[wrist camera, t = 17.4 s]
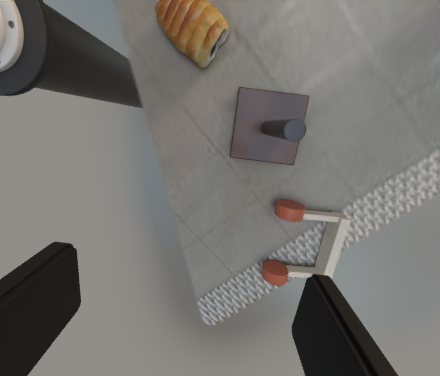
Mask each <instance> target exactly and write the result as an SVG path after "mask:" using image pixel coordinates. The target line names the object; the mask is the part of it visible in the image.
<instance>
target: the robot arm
mask: <svg viewBox="0 0 440 376" xmlns="http://www.w3.org/2000/svg"><path fill="white" fill-rule="evenodd" d="M23 41H24V31H23V24H22V20H21V16H20V13H19V11H18V8H17V6H16V4H15V2H14V0H0V72H2V71H5V70H7V69H9V68H10V67H12V66H13V65H14V63H15V62H16V61H17V60H18V58H19V56H20V54H21V51H22V48H23ZM80 303H81V296H80V284H79V272H78V260H77V251H76V249H75V248H73V245H72V244H69V243H62V242H53V243H51V244H50V245H48V246H47V247H46V248H44V249H43V250H41V251H40V252H38V253H37V254H36V255H34V256H33V257H31V258H30V259H29V260H27V261H26V262H24V263H23V264H21V266H19V267H17V268H16V269H14V270H13V271H12V272H10V273H9V274H7V275H6V276H4V277H3V278H2V279H1V280H0V376H27V375H28V374H29V373H30V371H31V370H32V369H33V367H34V366H35V365H36V364H37V362H38V361H39V360H40V359H41V357H42V356H43V354H44V353H45V352H46V351H47V349H48V348H49V347H50V346H51V344H52V343H53V342H54V340H55V339H56V338H57V337H58V335H59V334H60V333H61V331H62V330H63V329H64V327H65V326H66V325H67V323H68V322H69V321H70V320H71V318H72V317H73V316H74V315H75V313H76V312H77V310H78V308H79V306H80ZM292 335H293V339H294V342H295V345H296V348H297V351H298V354H299V357H300V360H301V363H302V367H303V370H304V373H305V376H398V375H397V373H396V372H395V371H394V369H393V368H392V366H391V365H390V363H389V362H388V360H387V359H386V358H385V356H384V354H383V353H382V352H381V350H380V349H379V347H378V346H377V344H376V343H375V341H374V340H373V339H372V337H371V336H370V334H369V333H368V331H367V330H366V329H365V327H364V326H363V324H362V323H361V321H360V320H359V318H358V317H357V315H356V314H355V312H354V311H353V310H352V308H351V307H350V305H349V304H348V302H347V301H346V299H345V298H344V297H343V295H342V294H341V292H340V291H339V289H338V288H337V286H336V285H335V284H334V282H333V281H332V279H331V278H330V277H329V276H328V275H320V274H313V275H312V276H311V277H308V278H307V280H306V283H305V287H304V290H303V293H302V296H301V299H300V302H299V306H298V309H297V312H296V315H295V318H294V321H293V324H292Z"/></svg>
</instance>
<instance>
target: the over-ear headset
mask: <svg viewBox="0 0 440 376" xmlns="http://www.w3.org/2000/svg"><path fill="white" fill-rule="evenodd" d="M275 215H276V216H278V217H279V218H281V219H284V220H287V221H293V222H299V221H302V219H307V220H317V221H328V222H327V226H326V229H325V232H324V236H323V239H322V242H321V246H320V249H319V252H318V256H317V259H316V262H315V266H314V267H303V266H290V265H285V264H283V263H282V262H279V261H277V260H267V261H265V262H264V264H263V269H262V277H263V278H264V280H265V281H267V282H268V283H270V284H272V285H276V286H281V285H284V284H285V283H286V281H287V277H288V276H289V277H302V278H308V277H311V276H312V275H313V274H320V275H328V276H329V277H330V278H331V279H332V276H333V273H334V270H335V267H336V264H337V261H338V258H339V255H340V252H341V249H342V246H343V243H344V240H345V237H346V234H347V231H348V228H349V225H350V222H351V219H349V218H348V217H346V216H345V215H344V214H342V213H341V212H337V211H331V212H322V211H312V210H305V206H304V205H302V204H301V203H298V202H296V201H292V200H286V199H281V200H278V201H277V203H276V208H275Z"/></svg>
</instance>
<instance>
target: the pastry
mask: <svg viewBox="0 0 440 376" xmlns="http://www.w3.org/2000/svg"><path fill="white" fill-rule="evenodd" d="M155 9H156V15H157V20H158V22H159V24H160V25H161V27H162V28H163V29H164V31H165V33H166V35H167V36H168V37H169V39H170V40H171V41H172V42H173V43H174V44H175V46H176V48H177V50H179V51H180V52H183V53H185V54H186V55H187V56H188V57H190V58H191V59H192V60H193V61H195V62H196V63H198V65H199V66H200V67H202V68H205V67H207V66H208V64H209V63H210V62H211V61H212V60H213V59H214V57H215V55H216V53H217V51H218V48H219V46H220V45H222V44H223V43H224V41H225V39H226V38H227V36H228V30H229V26H228V22H227V21H226V20H225V19H224V18H223V16H222V14H221V13H220V11H218V10H217V9H216V7H215V6H213V5H211V4H209V3H208V2H207V1H205V0H160V1H159V2H157V4H156V6H155Z"/></svg>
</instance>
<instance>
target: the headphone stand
mask: <svg viewBox="0 0 440 376" xmlns="http://www.w3.org/2000/svg"><path fill="white" fill-rule="evenodd" d="M308 100H309V96H305V95H298V94H290V93H282V92H274V91H266V90H258V89H251V88H243V87H240V88H239V93H238V101H237V108H236V116H235V123H234V130H233V138H232V145H231V153H230V157H233V158H241V159H249V160H257V161H265V162H273V163H281V164H289V165H294V162H295V158H296V153H297V149H298V144H299V140H300V139H301V138H303V136H304V135H305V132H306V126H305V123H304V118H305V114H306V109H307V105H308Z"/></svg>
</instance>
